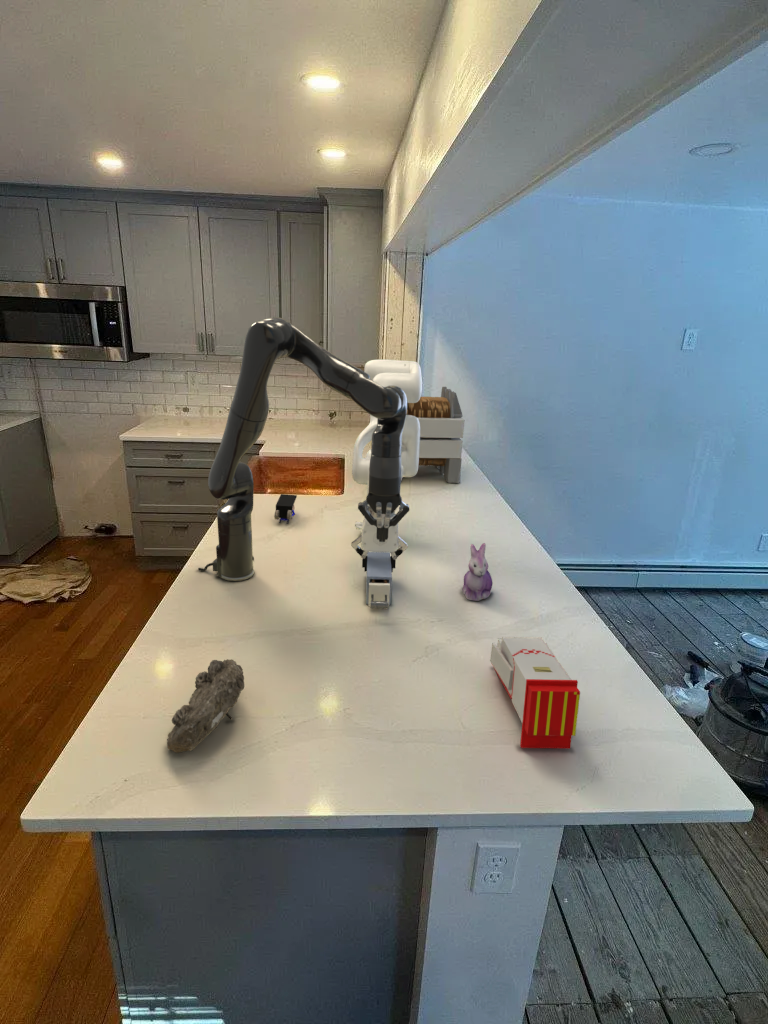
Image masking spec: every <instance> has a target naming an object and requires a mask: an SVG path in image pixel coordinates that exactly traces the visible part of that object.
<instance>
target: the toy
mask: <svg viewBox="0 0 768 1024" xmlns="http://www.w3.org/2000/svg"><path fill="white" fill-rule="evenodd" d="M489 658H490V659H489V662H490V663H491V665H492V666H493V669H494V671H495V673H496V675H497V677H498V679H499V680H500V682H501V684H502V686H503V687H504V689H505V691H506V693H507V695H508V697H509V699H510V700H511V703H512V705H513V707H514V709H515V712H516V713H517V716H518V718H519V720H520V722H521V735H520V748H521V749H571V746H572V745H571V744H572V737H574V736H575V737H576V733H577V732H576V731H577V723H578V715H579V705H580V697H581V691H580V688H578V683H579V681H578V680H577V679H572V678H571V677H570V675H569V674H568V673H567V671H566V670H565V668H564V667H563V665H562V664H561V662H560V661H559V660H558V659H557V657H556V656H555V654H554V652H553V651H552V650H551V648H550V647H549V645H548V643H547V642H545V640H544V639H543V637H540V636H539V637H536V636H535V637H534V636H526V637H525V636H501V638H500V637H498V638H497V643H496V642H492V643H491V649H490V657H489Z"/></svg>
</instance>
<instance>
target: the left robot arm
mask: <svg viewBox="0 0 768 1024" xmlns="http://www.w3.org/2000/svg"><path fill="white" fill-rule="evenodd" d="M244 339H245V340H244V345H243V352H242V358H241V365H240V371H239V375H238V378H237V382H236V386H235V390H234V394H233V398H232V401H231V404H230V406H229V407H230V408H229V411H228V414H227V418H226V419H227V420H226V424H225V428H224V431H223V434H222V438H221V442H220V444H219V448H218V449H217V452H216V455H215V457H214V460H213V462H212V464H211V467H210V470H209V473H208V479H207V484H208V489H209V492H210V494H211V496H212V497H213V498H215V499H217V500H227V501H226V502H225V503H224V504H223V505H221V506H220V507H219V508H218V510H217V511H216V521H217V534H218V537H217V538H218V544H217V545H216V547H215V551H216V552H215V553H216V554H215V555H216V558H215V559H214V560H213V561H212V562H210V563H207V564H206V565H205V567H204V568H203V567H198V569H197V570H198V571H201V572H205V571H207V570H208V568H209V567H211V566H212V572H215V573H216V572H217V577H218V578H220V579H222V580H225V581H227V582H243V581H246V580H249V579H250V578H252V577H253V576H254V573H255V571H254V562H255V557H254V552H253V530H252V513H253V510H254V495H255V494H254V493H255V491H254V490H255V488H254V487H255V486H254V485H255V484H254V482H255V481H254V475H253V471H252V470H251V468H250V466H249V465H248V464H247V463H246V462H243V461H241V460H242V458H243V457H244V456H245V455H246V454H247V452H248V451H249V450H250V449H251V448H252V447H253V446H254V445H255V444H256V442H257V441H258V440H259V438H260V437H261V435H262V433H263V432H264V429H265V425H266V422H267V419H268V417H269V416H268V415H269V411H270V402H269V401H270V400H269V395H268V381H269V378H270V376H271V372H272V369H273V367H274V365H275V363H276V361H277V360H280V359H283V358H289V359H291V360H294V361H295V362H298V363H301V364H302V365H304V366H305V367H307V368H308V369H309V370H310V371H312V372H313V374H314V375H316V377H317V378H318V379H319V380H320V381H321V382H322V383H323V384H324V385H325V386H327V387H328V388H329V389H331V390H333V391H335V392H336V393H338V394H339V395H341V396H344V397H345V398H347V399H349V400H350V401H353V403H355V404H356V405H357V406H358V407H359V408H361V409H362V410H363V411H364V412H366V413H367V414H369V416H370V415H372V416H373V417H375V418H378V420H377V426H376V428H375V430H374V431H373V434H372V440H371V445H370V446H371V447H370V449H371V458H370V467H369V493H368V495H367V494H366V498H365V499H364V500H363V501H361V502H359V503H357V509H358V511H359V512H360V513H361V515H362V516H363V518H364V517H365V518H366V520H367V521H368V522H369V524H370V525H374V526H376V527H377V534H376V538H377V540H379V542H385V540H387V539H388V529H389V527H390V526H396V525H397V524H398V525H399V523H400V521H402V519H403V518H404V517H405V516H406V515H407V514H408V513H409V512H410V505H409V504H408V503H406V502H404V501H403V498H402V496H401V484H402V482H401V471H402V469H401V467H402V463H401V447H402V432H403V428H404V423H405V418H406V413H407V397H406V394H405V393H404V391H403V390H402V389H401V388H400V387H398V386H394V385H391V386H387V387H383V386H380V385H379V384H377V383H375V382H374V381H372V380H371V378H370V376H369V375H368V374H367V373H366V372H364V370H362V369H361V368H359V367H357V366H355V365H354V364H351V363H349V362H348V361H346V360H344V359H342V358H340V357H339V356H337V355H335V354H334V353H332V352H330V351H329V350H328V349H326V348H324V346H321V345H320V344H319V343H317V342H316V341H315V340H313V339H312V338H311V337H309V336H308V335H306V334H305V333H304V332H303V331H301V330H300V329H299V328H298V327H296V326H295V325H294V324H292V323H291V322H290V321H288V320H287V319H285V318H282V317H278V316H277V317H276V316H274V317H269V318H265V319H261V320H257V321H255V322H253V324H251V325H250V327H249V328H248V330H247V332H246V335H245V338H244ZM368 504H369V506H370V507H371V508H372V510H373V511H374V512H375V513H377V519H374V517H373V516H372V515H371V513H370V512H369V511H368ZM397 509H398V511H397V512H396V510H397ZM394 511H395V512H396V513H395V514H396V515H395V516H394V517H393V518H392V519H390V516H391V514H392V513H393V512H394ZM382 514H385V517H384V525H383V526H382Z"/></svg>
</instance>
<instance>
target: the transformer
mask: <svg viewBox="0 0 768 1024" xmlns="http://www.w3.org/2000/svg"><path fill="white" fill-rule="evenodd" d="M440 393H441V394H440V396H421V397H420V400H419V401H418V402H416V403H407V413H406V415H412V416H415V417H417V418H418V420H419V423H420V448H419V465H418V467H436V468H437V470H438V469H439V473H440V474H441V475H443V478H444V479H445V481H446V482H447V483H449V484H455V483H456V484H459V483H461V472H462V461H463V460H462V453H463V442H464V441H463V440H462V439H463V438H464V431H465V430H464V429H465V419H464V418H463V411H462V408H461V405H460V402H459V398H458V395H457V392H455V391H453V390H452V389H451V388H447V386H442V387H441V392H440ZM401 448H406V446H405V445H403V444H402V447H401ZM402 482H403V479H402V480H401V483H402Z"/></svg>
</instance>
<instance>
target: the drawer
mask: <svg viewBox="0 0 768 1024" xmlns="http://www.w3.org/2000/svg"><path fill="white" fill-rule="evenodd" d="M389 595H390V583H387V580H384V579H371V583H369V601H368V604H367V605H368V606H367V607H368V608H370V609H389V607H390V605H389Z"/></svg>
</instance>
